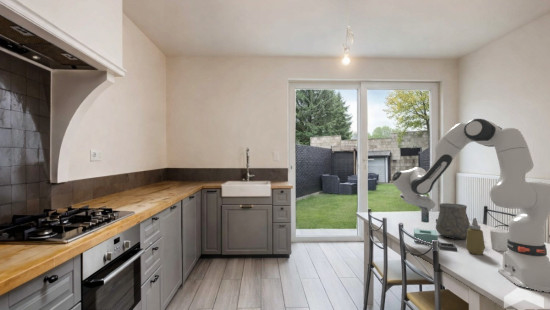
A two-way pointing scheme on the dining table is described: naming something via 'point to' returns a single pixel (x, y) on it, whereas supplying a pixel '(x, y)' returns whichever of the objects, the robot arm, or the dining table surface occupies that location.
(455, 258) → the dining table surface
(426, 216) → the spigot
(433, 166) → the robot arm
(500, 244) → the white cup
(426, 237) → the socket block
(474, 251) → the squeeze bottle
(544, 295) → the dining table surface
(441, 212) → the vessel
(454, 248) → the mount collar
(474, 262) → the dining table surface
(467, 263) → the dining table surface
